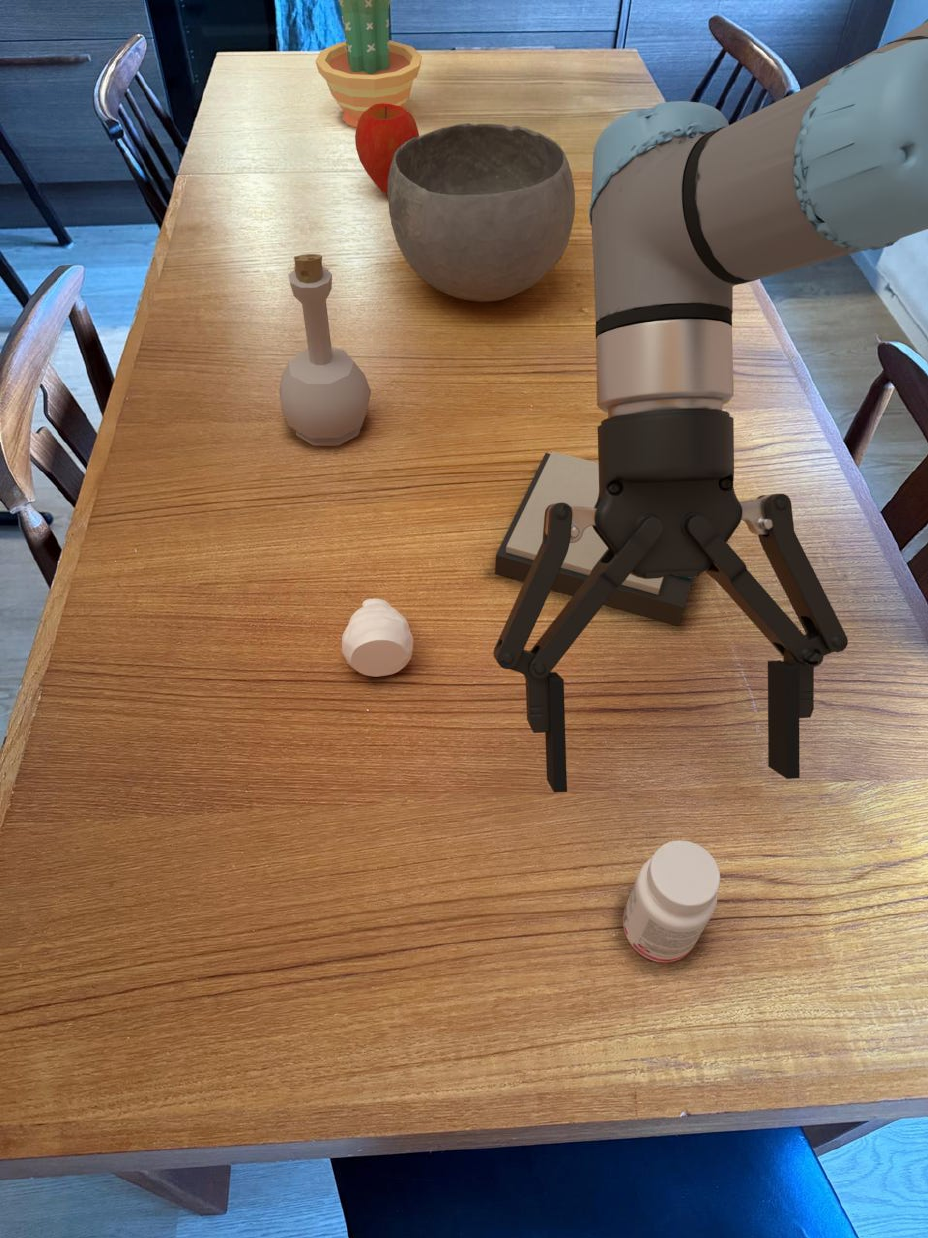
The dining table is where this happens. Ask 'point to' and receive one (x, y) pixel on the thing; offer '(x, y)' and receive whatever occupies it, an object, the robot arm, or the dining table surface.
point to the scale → (581, 542)
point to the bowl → (481, 208)
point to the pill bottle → (672, 901)
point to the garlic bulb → (377, 639)
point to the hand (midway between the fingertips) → (670, 779)
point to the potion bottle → (321, 368)
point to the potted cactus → (367, 61)
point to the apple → (382, 139)
